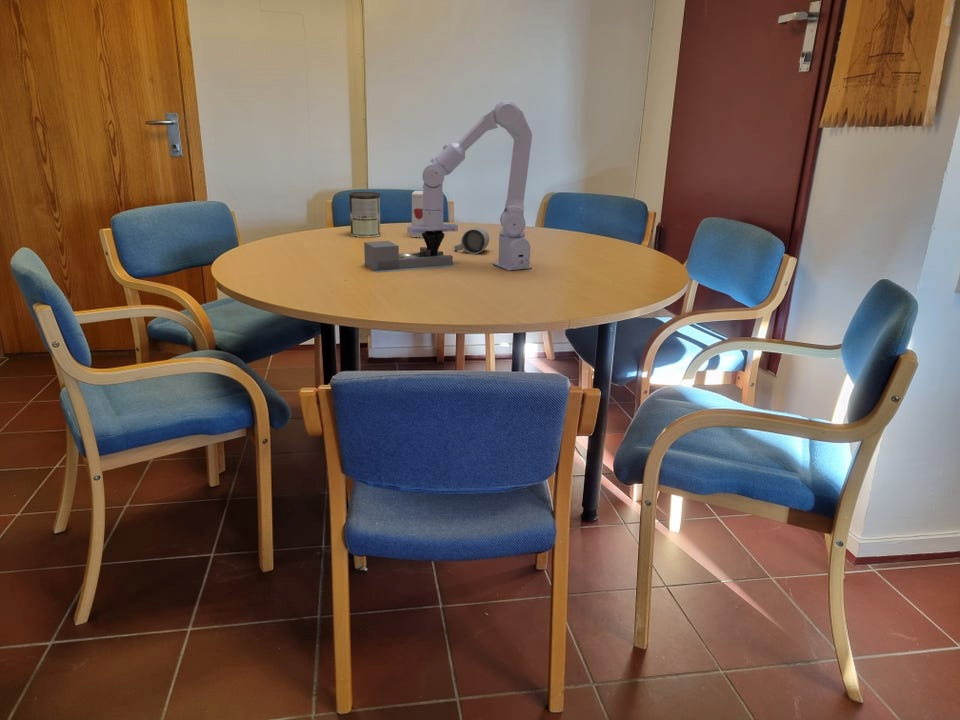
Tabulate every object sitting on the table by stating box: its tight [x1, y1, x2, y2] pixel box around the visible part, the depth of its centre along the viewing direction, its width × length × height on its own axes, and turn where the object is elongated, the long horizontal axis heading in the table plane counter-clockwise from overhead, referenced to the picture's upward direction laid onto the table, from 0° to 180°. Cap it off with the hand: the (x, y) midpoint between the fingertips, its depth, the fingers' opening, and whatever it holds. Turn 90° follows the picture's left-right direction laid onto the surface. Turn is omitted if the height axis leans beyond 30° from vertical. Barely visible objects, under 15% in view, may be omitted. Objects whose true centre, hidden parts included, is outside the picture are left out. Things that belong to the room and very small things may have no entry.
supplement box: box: [411, 190, 424, 239], centre depth 239 cm, size 9×9×15 cm
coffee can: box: [348, 191, 381, 238], centre depth 237 cm, size 10×10×14 cm
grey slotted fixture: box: [362, 240, 459, 274], centre depth 193 cm, size 12×24×7 cm, turn 117°
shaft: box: [399, 246, 431, 259], centre depth 194 cm, size 4×10×4 cm, turn 117°
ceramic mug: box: [453, 227, 490, 255], centre depth 216 cm, size 11×8×8 cm
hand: (432, 258), depth 197 cm, fingers closed
